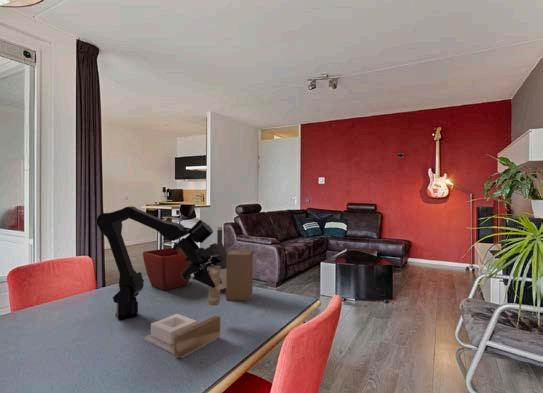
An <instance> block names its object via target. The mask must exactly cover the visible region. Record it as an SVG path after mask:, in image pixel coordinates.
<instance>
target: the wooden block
mask: <svg viewBox="0 0 543 393" xmlns="http://www.w3.org/2000/svg"><path fill="white" fill-rule="evenodd" d="M253 263H254V250H247V249H245V250H243V249H232V250H230V251H229V252H227V266H226V291H225V300H226V301H235V302H236V301H238V302H239V301H240V302H249V301H250V299H251V297H252V295H253V284H254V283H253V282H254V280H253V277H254V276H253V275H254V274H253V272H254V268H253V267H254V264H253Z"/></svg>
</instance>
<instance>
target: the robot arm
mask: <svg viewBox="0 0 543 393" xmlns="http://www.w3.org/2000/svg"><path fill="white" fill-rule="evenodd" d="M129 219H130V220H133V221H134V222H138V223H139V224H141V225H144V226H146V227H148V228H151V229H153V230H155V231H157V232H158V233H159V234H160V235H161V236H162V237H164V238H165V239H167V240H168V241H171V242H173V246H172V248H173V250H179V249H180V250H181V251H182V252H183V254H184V255H185V256H186V259H185V261H186V262H188V261H189V262H190V263H191V264H190V265H189V266H188V267H187V268H186V269H185V270H184V271H183V272H182V278H183V279H184V280H185V281H186V280H188V279H189V280H190V279H192V280H193V281H194V280H195V281H198V282H200V283H202V284H204V285H207V286H208V287H209V286H210V287H212V288H214V287H215V284H214V282H213V280H212V279H211V277H210V276H209V266H218V264H219V263H220V262H221V261H222V260H223V258H222V256H221V255H216V256H213V257H212V255H215V254H218V253H219V249H220V247H219V246H218V245H217V243H216V242H215V243H212V244H210V245H209V246H208V247H206V248H205V247H200V246H199V245H198V244H199V243H201V244H203V242H205V241H206V240H207V239H208V238H209V237H210V236H211V235H212V234H214V230H213V228H212V227H211V226H210V225H209V224H207V223H206V222H205V221H203V220H202V219H199V220H198V221H196V223H195V224H194V225H193V226H192V227H186V226H184V225H183V224H182V223H178V222H175V221H169V220H164V219H161V218H160V217H157V216H155V215H153V214H150V213H147V212H146V211H143V210H140V208H137V207H135V206H133V205H130V206H125V207H123V208H121V209H118V210H115V211H112V212H111V211H110V212H102V213H100V214H99V215H98V216H97V218H96V220H95V221H96V225H97V227H98V229H99V231H100V232H101V234H102V235H104V236H105V237H106V239H107V241H108V245H109V247H110V250H111V252H112V256H113V259H114V262H115V264H116V267H117V270H118V273H119V278H118V279H119V280H118V287H119V291H117V293H115V295H114V296H113V297H112V299H113V302H114V303H115V304H116V312H115V316H116V317H115V318H117V320H118V321H122V320H127V319H130V318H136V317H138V313H139V302H138V301H137V300H138V298H137V297H138V296H139V294H140V292H141V291H142V290H143V289H144V288H143V287H144V284H145V283H144V282H145V279H144V278H143V274H142V272H141V271H139V272H137V271H136V270H135V269H134V267H133V265H132V261H131V258H130V255H129V253H128V250H127V246H126V244H125V241H124V238H123V235H122V233H123V232H122V231H123V222H125V221H127V220H129ZM179 239H180V240H179ZM178 240H179V241H178ZM174 241H177V242H174ZM192 274H193V277H192ZM191 277H192V278H191ZM221 283H222V281H221V278H220V284H221Z"/></svg>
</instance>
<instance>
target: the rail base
mask: <svg viewBox="0 0 543 393" xmlns="http://www.w3.org/2000/svg"><path fill="white" fill-rule="evenodd" d="M220 336H221V316H218V315H214V316H212V317H209V318H208V319H205V320H203V321H200V322H199V323H198V322H197V324H196V325H194V326H191V327H189V328H187V329H185V330H183V331H180V332H178V333H176V334H174V344H172V345H170V344H167V343H165V342H163V341H161V340H159V339H157V338H155V337H152V336H151V333H150V334H148V335H145V336H144V337H142V340H143V341H145V342H147V343H149V344H151V345H153V346H156V347H158V348H160V349H161V350H163V351H165V352H168V353H170V354H171V355H173V356H175V357H176V358H178V359H183V358H186V357H187V356H188V355H191V354H192V353H195V352H196V351H199V349H202V348H203V347H205V346H208V345H209V344H211V343H213V342H215V341H217V340H218V338H219V337H220Z"/></svg>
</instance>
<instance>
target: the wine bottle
mask: <svg viewBox="0 0 543 393" xmlns="http://www.w3.org/2000/svg"><path fill="white" fill-rule="evenodd" d="M216 233H217V235H216V240H217V241H216V242H217V243H216V244H217V245H218V246H219V247H220V249H219V253H218V254H215V255H212V256H211V257H213V256H216V255H221V256H222V258H223V260H222V261H221V262H220V263H219V264H218V266H220V278H221V281H222V283H221V284H220V293H224V292H225V293H226V266H227V254H228V252H227V251H226V248H225V245H224V244H223V226H217V231H216Z"/></svg>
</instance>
